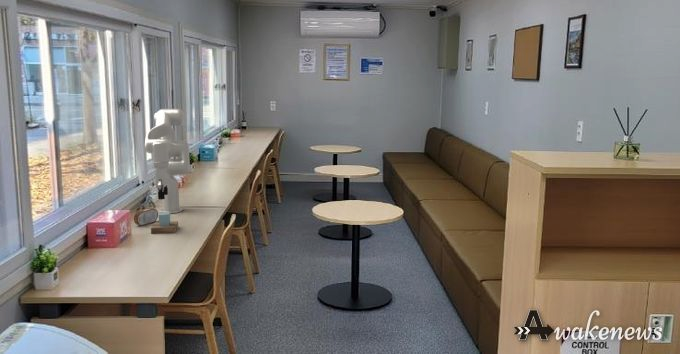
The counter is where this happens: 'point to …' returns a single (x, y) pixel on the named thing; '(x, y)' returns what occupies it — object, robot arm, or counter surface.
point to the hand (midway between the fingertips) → (163, 196)
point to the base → (164, 228)
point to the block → (164, 219)
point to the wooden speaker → (146, 216)
